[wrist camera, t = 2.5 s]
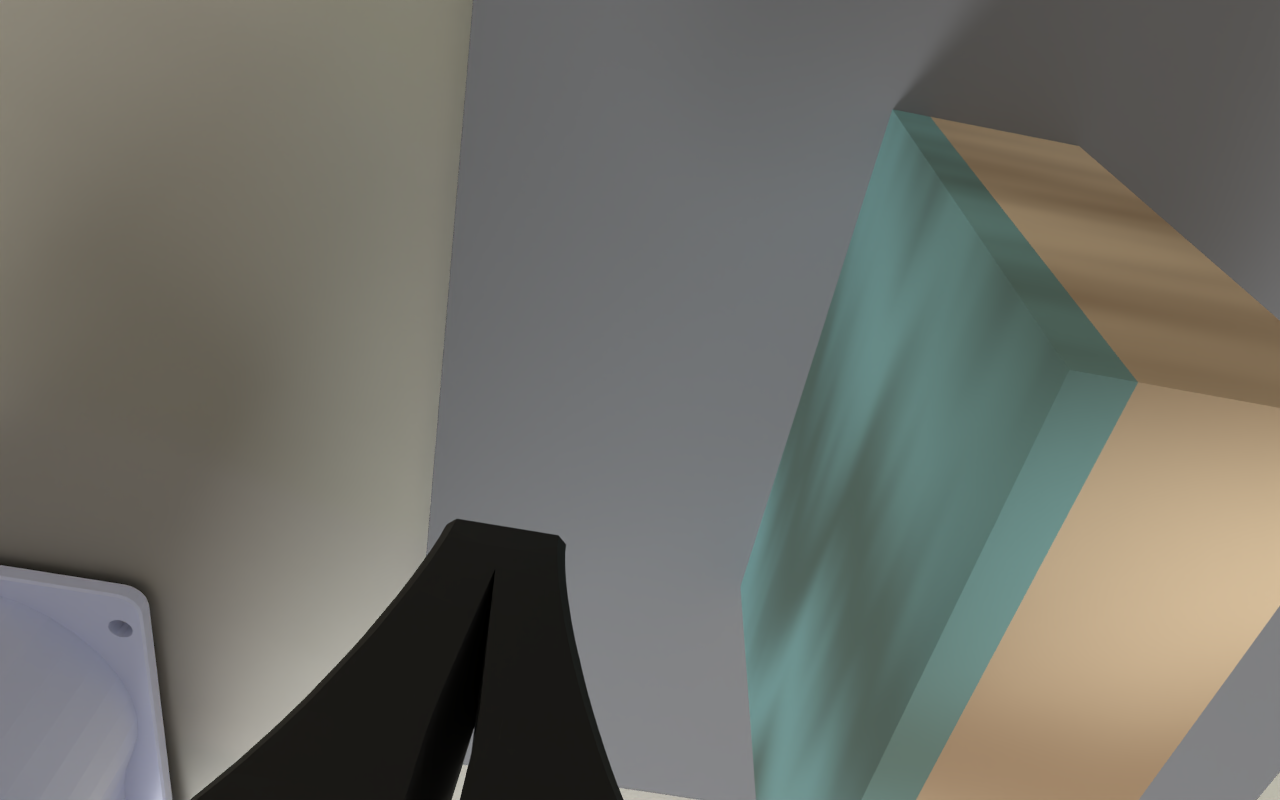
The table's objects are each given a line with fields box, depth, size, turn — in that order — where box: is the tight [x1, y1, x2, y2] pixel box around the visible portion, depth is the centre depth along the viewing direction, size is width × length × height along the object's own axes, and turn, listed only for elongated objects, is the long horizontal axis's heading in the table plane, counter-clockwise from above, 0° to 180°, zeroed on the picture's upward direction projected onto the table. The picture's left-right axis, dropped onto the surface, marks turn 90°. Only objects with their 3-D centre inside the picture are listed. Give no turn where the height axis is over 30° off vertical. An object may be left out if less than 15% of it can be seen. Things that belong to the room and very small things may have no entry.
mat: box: [426, 0, 1280, 800], centre depth 18 cm, size 24×20×1 cm
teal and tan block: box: [740, 109, 1280, 800], centre depth 14 cm, size 10×3×8 cm, turn 170°
